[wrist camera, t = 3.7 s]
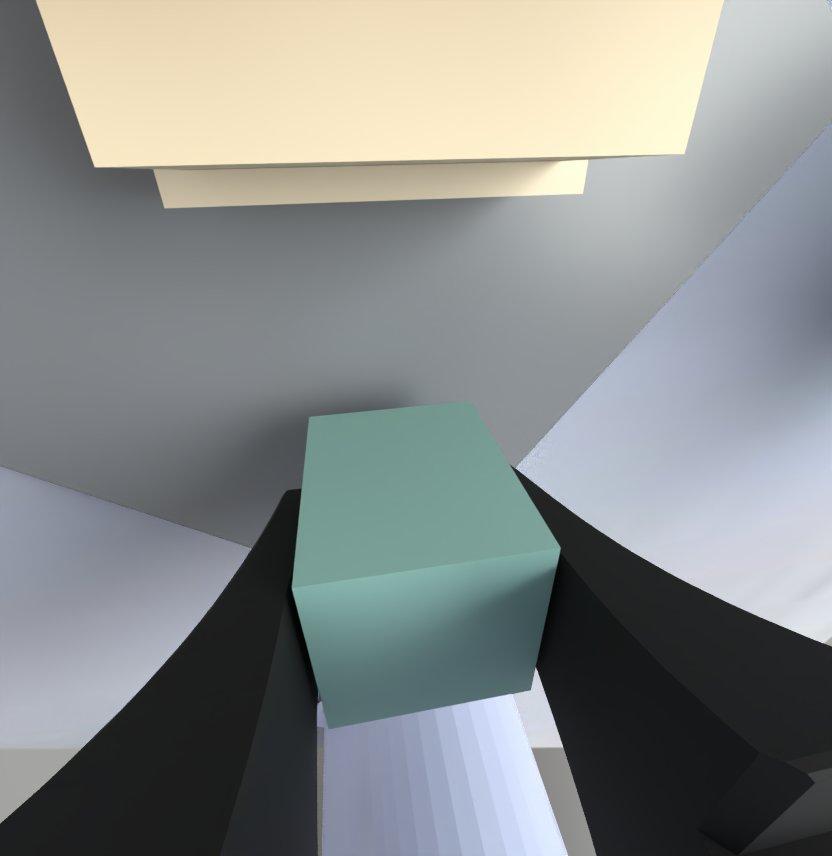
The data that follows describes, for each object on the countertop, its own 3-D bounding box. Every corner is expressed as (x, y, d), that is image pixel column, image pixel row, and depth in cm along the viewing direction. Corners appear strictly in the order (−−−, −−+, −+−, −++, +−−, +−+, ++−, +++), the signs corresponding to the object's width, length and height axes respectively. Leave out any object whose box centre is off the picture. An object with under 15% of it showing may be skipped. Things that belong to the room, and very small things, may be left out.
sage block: (464, 519, 13) (530, 690, 8) (330, 537, 12) (328, 729, 8) (470, 401, 11) (561, 548, 6) (308, 416, 10) (291, 588, 6)
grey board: (395, 575, 18) (398, 595, 17) (-162, 381, 11) (-204, 399, 10) (825, 90, 11) (866, 83, 10) (96, -1296, 4) (32, -1699, 3)
